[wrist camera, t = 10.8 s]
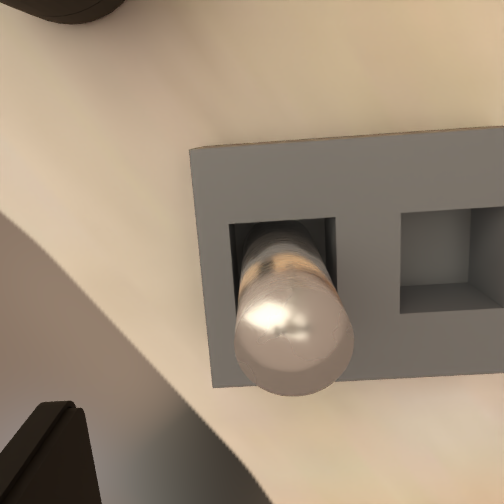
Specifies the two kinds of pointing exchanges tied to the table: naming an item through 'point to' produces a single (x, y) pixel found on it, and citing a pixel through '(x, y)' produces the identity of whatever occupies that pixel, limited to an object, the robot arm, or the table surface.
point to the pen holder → (66, 9)
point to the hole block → (369, 242)
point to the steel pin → (289, 313)
